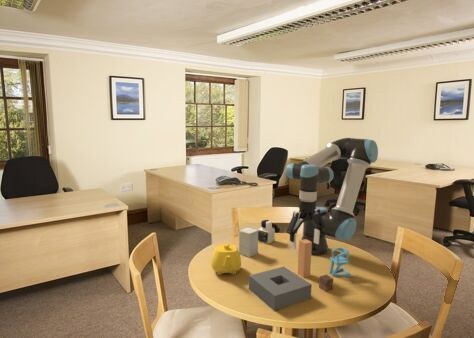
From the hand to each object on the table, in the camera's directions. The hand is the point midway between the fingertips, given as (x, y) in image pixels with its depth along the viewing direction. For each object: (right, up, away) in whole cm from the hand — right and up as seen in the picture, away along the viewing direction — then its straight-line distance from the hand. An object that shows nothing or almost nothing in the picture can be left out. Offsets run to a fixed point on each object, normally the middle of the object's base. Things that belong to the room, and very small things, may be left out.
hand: (304, 245), depth 155 cm
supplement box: (-25, -10, +25) cm, 36 cm away
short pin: (+7, -16, -9) cm, 20 cm away
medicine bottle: (-14, -7, +42) cm, 45 cm away
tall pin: (0, -14, +3) cm, 14 cm away
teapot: (-35, -13, +4) cm, 38 cm away
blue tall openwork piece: (+16, -14, +4) cm, 22 cm away
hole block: (-13, -16, -14) cm, 25 cm away
